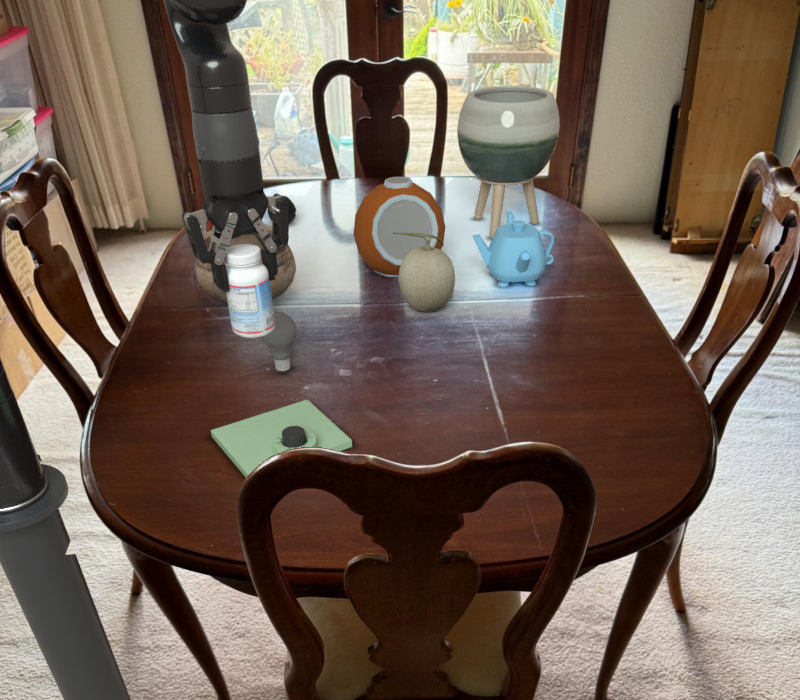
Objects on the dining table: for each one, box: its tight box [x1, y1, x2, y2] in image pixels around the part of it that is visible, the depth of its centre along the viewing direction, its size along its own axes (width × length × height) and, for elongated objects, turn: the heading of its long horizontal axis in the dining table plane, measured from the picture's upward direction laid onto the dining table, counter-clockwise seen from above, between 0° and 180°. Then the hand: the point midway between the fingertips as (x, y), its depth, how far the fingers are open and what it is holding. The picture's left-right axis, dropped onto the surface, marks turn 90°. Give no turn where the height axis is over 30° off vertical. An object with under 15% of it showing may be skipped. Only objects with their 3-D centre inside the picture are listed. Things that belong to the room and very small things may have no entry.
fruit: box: [393, 232, 456, 313], centre depth 145 cm, size 10×12×15 cm
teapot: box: [472, 208, 555, 288], centre depth 156 cm, size 15×14×11 cm
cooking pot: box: [195, 224, 297, 305], centre depth 149 cm, size 25×19×12 cm
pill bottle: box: [225, 244, 276, 339], centre depth 106 cm, size 6×6×11 cm
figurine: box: [267, 194, 297, 225], centre depth 192 cm, size 8×7×18 cm
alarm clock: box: [353, 176, 446, 278], centre depth 161 cm, size 19×18×17 cm
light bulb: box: [260, 311, 298, 372], centre depth 128 cm, size 6×6×10 cm
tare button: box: [282, 426, 306, 448], centre depth 108 cm, size 3×3×2 cm
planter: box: [456, 85, 561, 239], centre depth 175 cm, size 22×22×28 cm
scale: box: [210, 399, 353, 479], centre depth 113 cm, size 16×15×3 cm
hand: (247, 284), depth 105 cm, fingers closed on pill bottle, 6 cm apart
